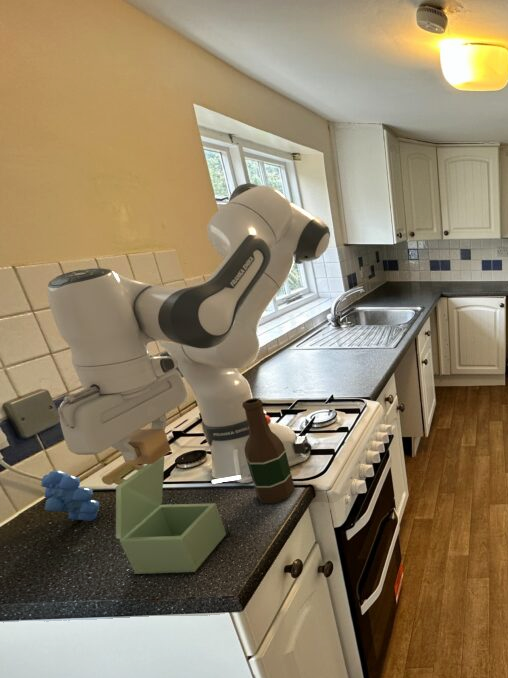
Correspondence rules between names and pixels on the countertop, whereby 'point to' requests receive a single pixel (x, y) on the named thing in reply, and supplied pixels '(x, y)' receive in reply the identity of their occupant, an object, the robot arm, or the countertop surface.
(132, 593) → the countertop surface
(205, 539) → the container
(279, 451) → the beer bottle
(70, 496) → the grapes
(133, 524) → the box lid
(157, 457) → the block
